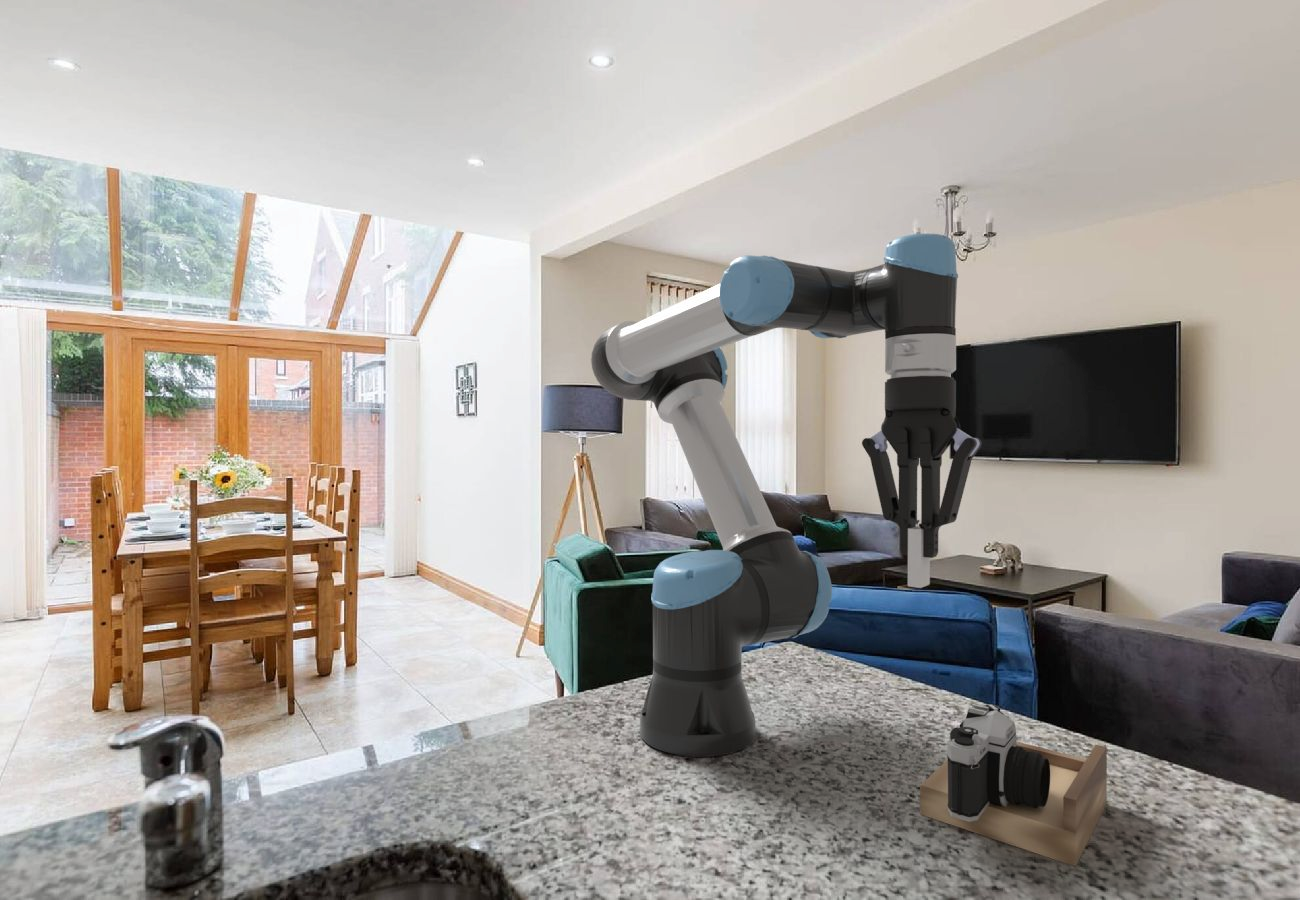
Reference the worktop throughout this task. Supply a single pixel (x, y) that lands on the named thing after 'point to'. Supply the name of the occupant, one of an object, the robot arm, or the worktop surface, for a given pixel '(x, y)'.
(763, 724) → the worktop surface
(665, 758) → the worktop surface
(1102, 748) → the wooden corner tray
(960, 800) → the camera
